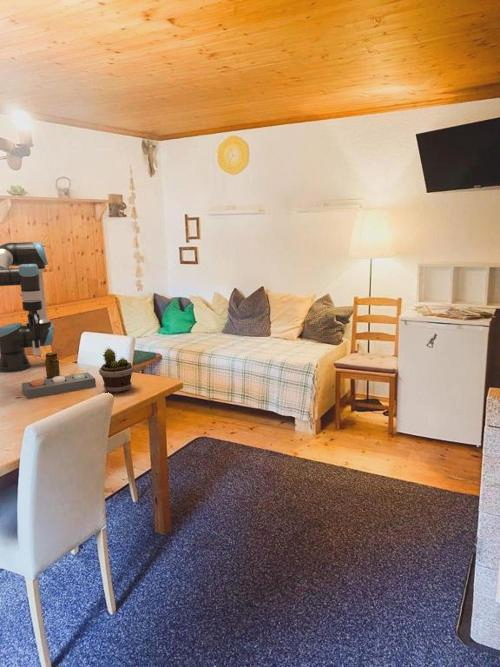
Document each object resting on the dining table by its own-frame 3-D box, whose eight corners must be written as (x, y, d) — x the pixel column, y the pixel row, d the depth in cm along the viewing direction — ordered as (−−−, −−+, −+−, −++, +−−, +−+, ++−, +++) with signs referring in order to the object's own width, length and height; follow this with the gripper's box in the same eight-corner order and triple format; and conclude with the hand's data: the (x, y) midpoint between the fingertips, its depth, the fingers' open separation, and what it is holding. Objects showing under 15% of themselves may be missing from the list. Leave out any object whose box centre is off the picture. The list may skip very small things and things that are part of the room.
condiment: (58, 374, 246) (56, 351, 243) (64, 378, 239) (62, 354, 237) (43, 377, 241) (40, 353, 239) (48, 381, 235) (46, 356, 232)
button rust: (30, 388, 218) (30, 380, 217) (42, 386, 220) (42, 378, 220) (33, 391, 213) (32, 383, 213) (45, 389, 216) (44, 381, 215)
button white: (52, 384, 222) (51, 377, 222) (63, 382, 225) (63, 375, 224) (54, 387, 218) (54, 379, 218) (66, 385, 221) (65, 377, 220)
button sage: (72, 382, 227) (72, 375, 227) (83, 380, 230) (83, 373, 229) (75, 385, 223) (75, 377, 223) (86, 383, 226) (86, 376, 225)
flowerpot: (142, 388, 222) (139, 344, 218) (117, 397, 210) (113, 352, 205) (118, 383, 230) (115, 341, 226) (93, 392, 217) (89, 348, 213)
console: (22, 391, 219) (21, 383, 218) (88, 380, 235) (87, 372, 234) (27, 399, 209) (26, 390, 209) (95, 386, 225) (95, 378, 224)
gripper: (19, 299, 213) (25, 352, 218) (25, 303, 202) (31, 358, 207) (37, 298, 217) (42, 350, 222) (44, 301, 206) (50, 356, 211)
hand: (37, 354), depth 214 cm, fingers closed
